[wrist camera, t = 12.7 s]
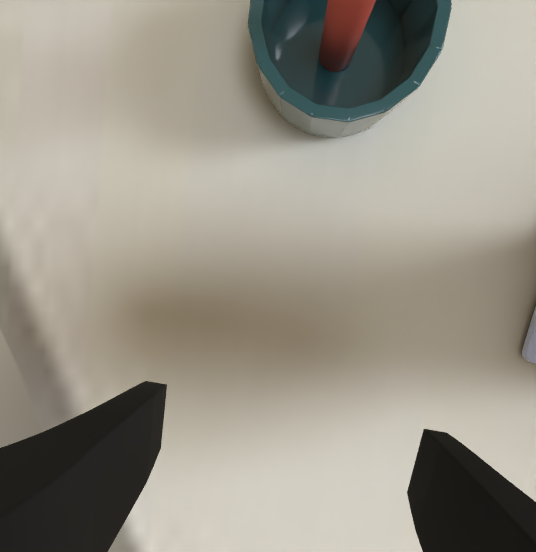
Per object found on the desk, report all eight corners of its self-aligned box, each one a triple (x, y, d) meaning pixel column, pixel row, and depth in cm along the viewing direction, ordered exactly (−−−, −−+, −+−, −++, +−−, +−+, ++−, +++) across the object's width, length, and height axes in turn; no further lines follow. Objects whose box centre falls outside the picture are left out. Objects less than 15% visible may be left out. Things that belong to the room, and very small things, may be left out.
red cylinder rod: (355, 38, 17) (423, -141, 8) (348, 74, 18) (408, -59, 8) (322, 33, 17) (352, -150, 8) (316, 69, 18) (339, -67, 8)
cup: (427, -17, 17) (473, -90, 13) (394, 147, 19) (424, 132, 14) (271, -37, 17) (263, -114, 13) (251, 127, 19) (237, 107, 14)
